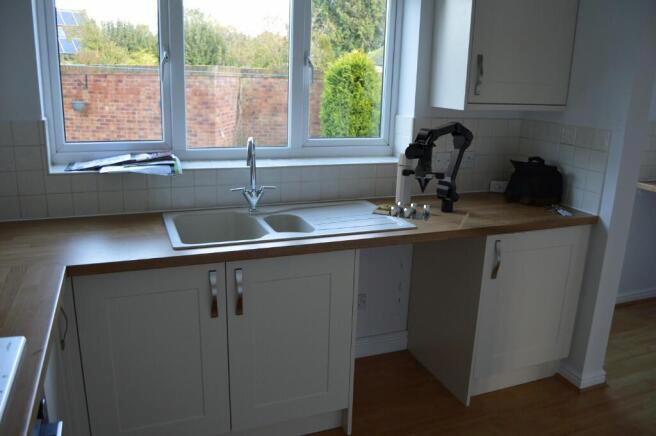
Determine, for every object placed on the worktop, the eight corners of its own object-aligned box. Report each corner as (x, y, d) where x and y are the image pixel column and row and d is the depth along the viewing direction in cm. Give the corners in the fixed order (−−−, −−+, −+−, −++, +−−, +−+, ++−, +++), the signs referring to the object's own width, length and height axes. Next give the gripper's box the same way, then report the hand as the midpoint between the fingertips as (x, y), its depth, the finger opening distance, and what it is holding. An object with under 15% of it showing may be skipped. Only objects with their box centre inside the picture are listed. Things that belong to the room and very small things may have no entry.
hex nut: (379, 212, 238) (379, 206, 238) (382, 209, 243) (383, 203, 243) (389, 213, 237) (390, 207, 236) (393, 211, 242) (393, 204, 241)
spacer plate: (379, 209, 248) (380, 199, 247) (432, 216, 239) (433, 205, 238) (371, 215, 236) (371, 205, 235) (426, 222, 227) (427, 211, 226)
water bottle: (413, 206, 256) (417, 155, 250) (399, 207, 253) (402, 155, 247) (404, 202, 264) (407, 152, 258) (390, 202, 262) (393, 153, 255)
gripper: (399, 158, 224) (397, 194, 228) (442, 162, 217) (440, 198, 221) (406, 154, 234) (404, 189, 238) (448, 158, 227) (445, 193, 231)
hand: (423, 192), depth 232 cm, fingers closed
